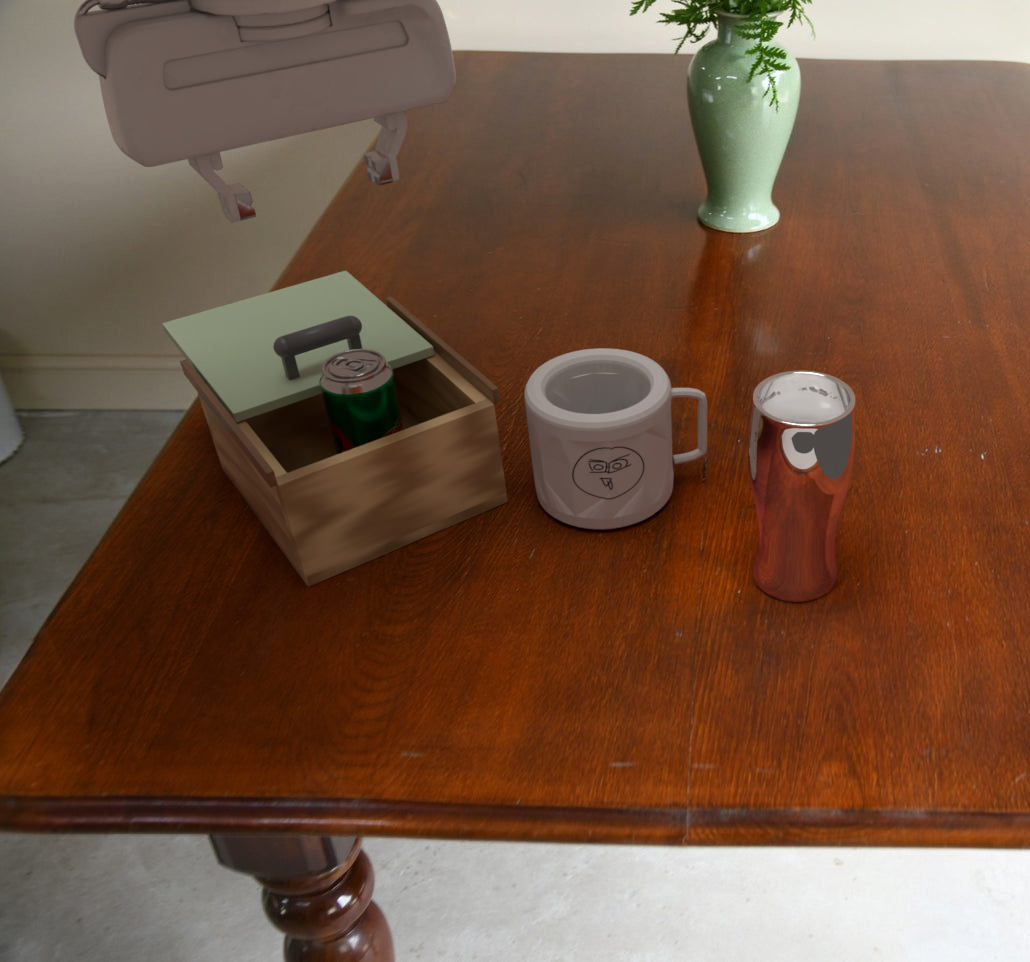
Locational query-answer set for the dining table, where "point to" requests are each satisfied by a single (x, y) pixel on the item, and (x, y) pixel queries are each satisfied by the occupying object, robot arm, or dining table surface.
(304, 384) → the slide lid
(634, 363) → the mug
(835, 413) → the beer glass
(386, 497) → the box
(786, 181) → the dining table surface
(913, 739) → the dining table surface
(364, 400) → the soda can
